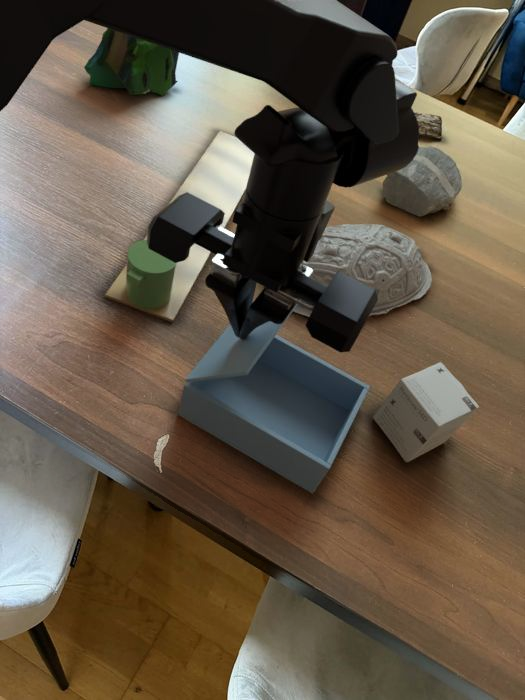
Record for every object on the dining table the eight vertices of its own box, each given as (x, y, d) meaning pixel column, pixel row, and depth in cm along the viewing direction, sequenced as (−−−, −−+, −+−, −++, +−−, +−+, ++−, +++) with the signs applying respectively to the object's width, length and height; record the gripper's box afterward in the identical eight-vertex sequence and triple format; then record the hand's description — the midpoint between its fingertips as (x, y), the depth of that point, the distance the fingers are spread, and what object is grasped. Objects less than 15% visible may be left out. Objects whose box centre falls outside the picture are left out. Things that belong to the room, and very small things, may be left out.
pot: (150, 321, 62) (154, 285, 58) (110, 298, 63) (111, 261, 59) (184, 286, 67) (191, 250, 63) (147, 265, 67) (151, 228, 63)
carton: (177, 414, 56) (184, 385, 52) (231, 345, 63) (240, 315, 59) (312, 494, 54) (329, 469, 50) (352, 413, 61) (370, 386, 57)
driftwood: (334, 125, 94) (338, 91, 92) (301, 126, 102) (304, 95, 101) (449, 140, 105) (454, 110, 104) (410, 140, 114) (415, 112, 113)
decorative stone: (406, 166, 97) (422, 134, 92) (460, 195, 95) (479, 164, 90) (375, 197, 88) (391, 163, 84) (433, 230, 87) (452, 197, 82)
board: (172, 322, 63) (173, 320, 63) (104, 297, 63) (104, 294, 63) (267, 150, 90) (267, 148, 89) (219, 133, 90) (219, 130, 89)
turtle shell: (242, 241, 74) (258, 201, 68) (391, 228, 85) (414, 193, 80) (292, 339, 67) (314, 304, 62) (445, 310, 79) (475, 279, 74)
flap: (186, 382, 52) (184, 379, 52) (243, 312, 59) (241, 310, 59) (247, 375, 47) (245, 371, 47) (300, 300, 54) (299, 297, 54)
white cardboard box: (370, 418, 61) (399, 377, 56) (411, 399, 64) (441, 359, 59) (406, 465, 59) (439, 427, 53) (446, 443, 61) (482, 405, 56)
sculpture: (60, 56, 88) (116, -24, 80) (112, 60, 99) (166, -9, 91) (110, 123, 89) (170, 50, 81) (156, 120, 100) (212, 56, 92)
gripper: (431, 202, 45) (361, 330, 57) (227, 102, 48) (200, 244, 59) (389, 279, 38) (318, 408, 50) (151, 156, 40) (137, 306, 52)
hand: (241, 335), depth 53 cm, fingers closed
